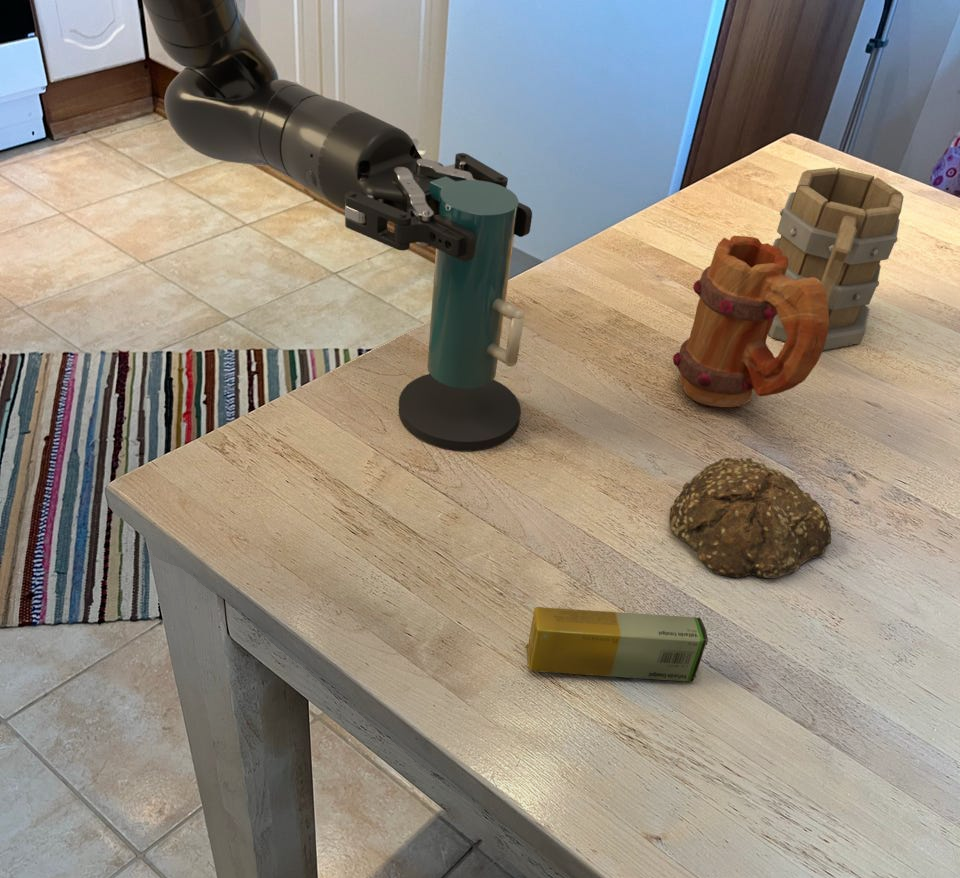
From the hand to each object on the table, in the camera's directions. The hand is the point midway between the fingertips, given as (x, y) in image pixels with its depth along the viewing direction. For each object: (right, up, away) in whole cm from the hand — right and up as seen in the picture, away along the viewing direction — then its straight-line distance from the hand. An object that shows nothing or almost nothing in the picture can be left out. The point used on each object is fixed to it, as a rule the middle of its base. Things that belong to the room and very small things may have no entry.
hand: (500, 235), depth 75 cm
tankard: (+33, +2, +30) cm, 44 cm away
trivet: (-3, -10, +14) cm, 18 cm away
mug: (+22, -9, +19) cm, 30 cm away
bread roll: (+20, -22, +6) cm, 31 cm away
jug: (-3, -7, +10) cm, 13 cm away
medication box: (+8, -33, -5) cm, 34 cm away
